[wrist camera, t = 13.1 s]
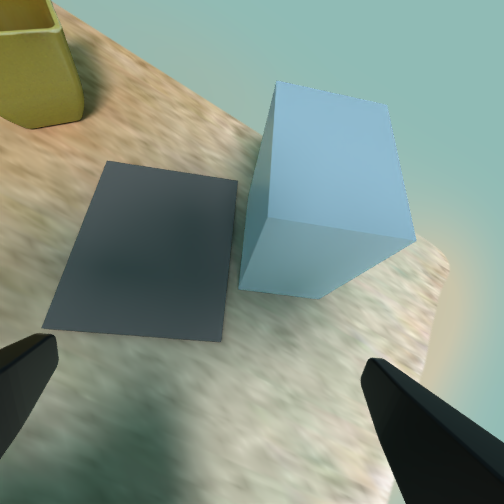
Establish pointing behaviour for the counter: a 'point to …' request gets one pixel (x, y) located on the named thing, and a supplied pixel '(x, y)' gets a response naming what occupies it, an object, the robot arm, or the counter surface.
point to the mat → (149, 257)
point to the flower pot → (36, 67)
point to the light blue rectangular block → (322, 194)
